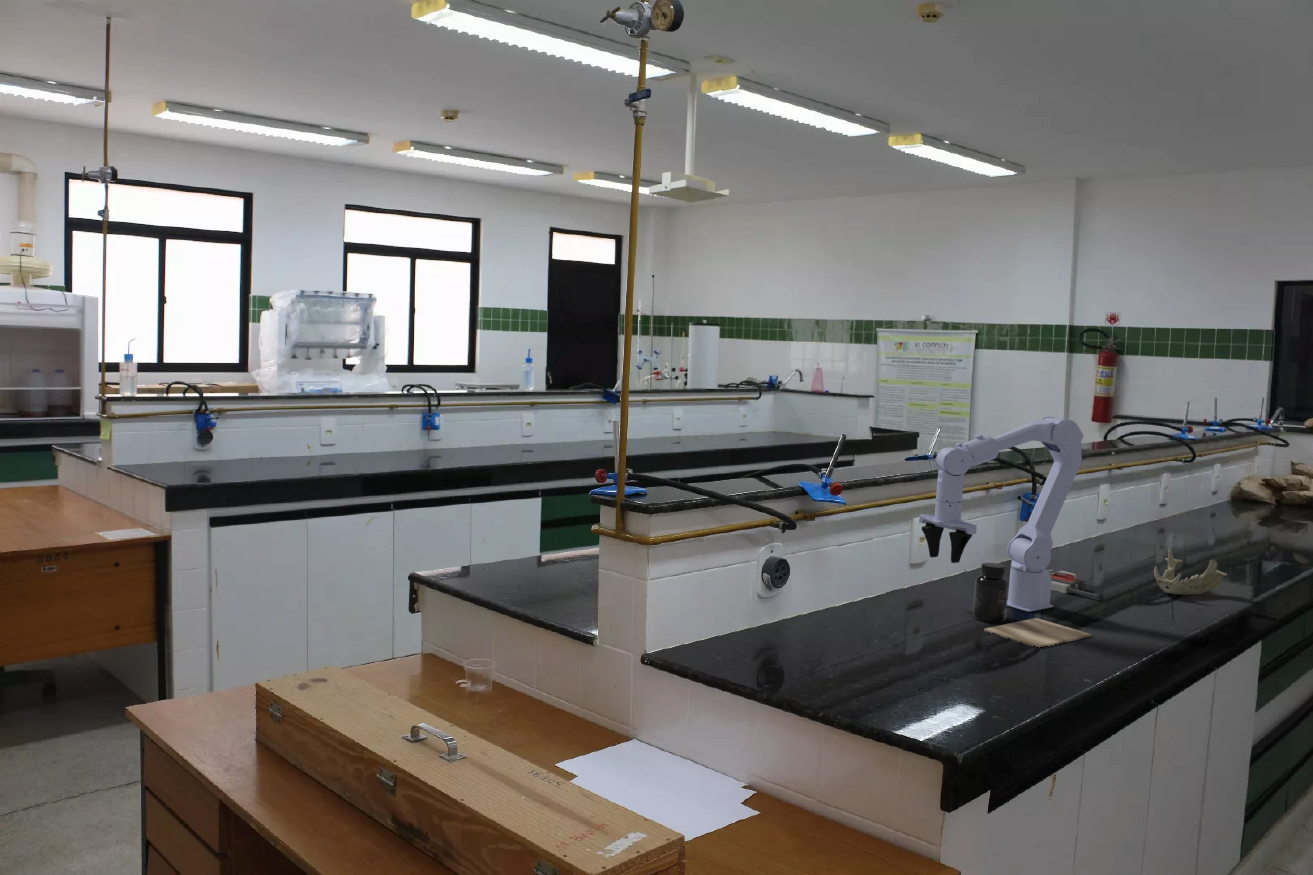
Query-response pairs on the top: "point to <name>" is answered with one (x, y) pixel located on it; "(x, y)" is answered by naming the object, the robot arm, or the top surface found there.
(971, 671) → the top surface
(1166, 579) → the mandible
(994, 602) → the supplement bottle
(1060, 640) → the tan paper sheet
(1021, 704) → the top surface
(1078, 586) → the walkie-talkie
